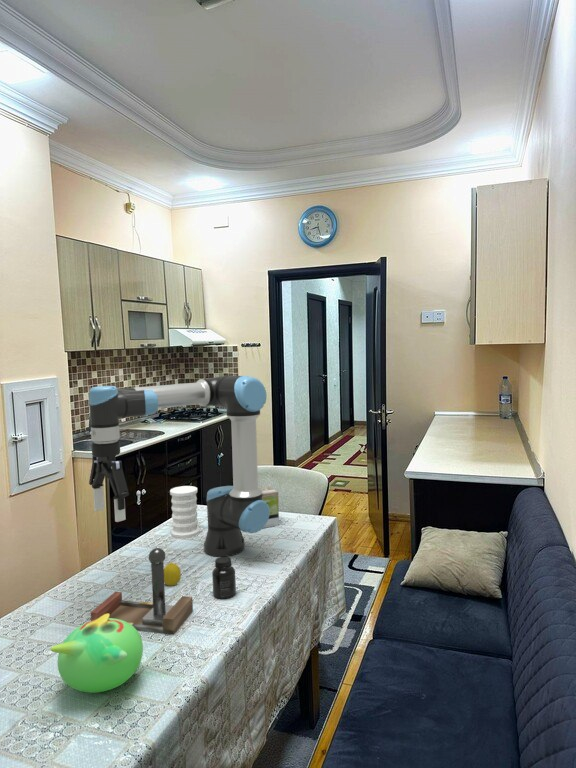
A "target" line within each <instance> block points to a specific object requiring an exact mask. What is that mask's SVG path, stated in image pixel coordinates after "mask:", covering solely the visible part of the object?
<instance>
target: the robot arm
mask: <svg viewBox="0 0 576 768" xmlns="http://www.w3.org/2000/svg"><path fill="white" fill-rule="evenodd" d="M266 402H267V390H266V387H265V385H264V383H263V382H261V380H260V379H258V378H256V377H254V376H249V375H221V376H217V377H210V378H203V379H202V378H201V379H198V380H197V381H196V382H189V383H188V382H186V383H175V384H165V385H164V384H161V385H150V386H137V387H125V388H124V387H123V388H117V386H115V385H102V386H101V385H100V386H92V387H91V388H90V389H89V394H88V405H89V406H88V407H89V416H90V417H89V418H90V419H89V421H90V431H89V435H90V437H91V442H92V443H91V455H92V462H91V463H92V465H91V470H90V474H89V475H90V476H89V481H88V485H90V486H91V487H92V493H93V510H94V512H99V511H103V510H105V498H104V497H105V496H104V487H105V486H104V480H105V477H106V478H107V479H108V481H109V483H110V486H111V488H112V491H113V494H114V496H113V503H114V504H113V505H114V522H116V523H119V522H122V521H125V520H127V519H126V499H125V498H126V497H129V495H130V492H129V489H128V484H127V481H126V478H125V473H124V470H123V469H124V468H123V462H122V460H117V459H116V456H118V455H120V454H121V442H120V441H119V439H120V438H121V437H120V432H121V431H120V419H125V418H133V417H146V416H150V415H155V414H156V413H157V412H158V409H165V408H175V407H182V406H193V405H199V406H200V407H218V408H225V409H226V417H227V418H228V419H229V420H230V422H231V447H232V449H231V451H232V452H231V453H232V458H231V459H232V479H233V480H232V482H233V485H225V486H218V487H213V488H210V489H209V490H208V491H207V493H206V513H207V516H206V517H207V532H206V535H205V541H204V543H203V551H204V553H205V554H206V555H208V556H213V557H219V558H220V557H231V556H235V555H237V554H240V553H241V552H243V551H244V550H245V548H246V544H245V543H246V542H245V538H244V536H243V533H249V534H256V533H257V532H260V531H261V530H262V529H264V528H263V527H264V526H265V524H266V523H267V521H268V519H269V515H270V509H269V506H268V504H267V503H266V502H265V501H263V493H262V490H261V489H260V488H261V487H259V477H258V474H259V473H258V443H257V442H258V440H257V418H259V416H261V409H263V408H264V406H265V404H266ZM242 532H243V533H242Z"/></svg>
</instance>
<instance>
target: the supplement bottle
mask: <svg viewBox="0 0 576 768" xmlns="http://www.w3.org/2000/svg"><path fill="white" fill-rule="evenodd" d="M214 567H215V568H213V570H212V572H211V573H212V574H211V575H212V576H211V577H212V596H213V597H214V599H216V600H220V601H222V600H230V599H232V598H234V597H235V596H237V583H236V570H235V568H234V566H233V565H232V558H231V557H230V556H221V557H220V556H219V557H217V558H216V559H215V560H214Z"/></svg>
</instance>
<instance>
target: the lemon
mask: <svg viewBox="0 0 576 768" xmlns="http://www.w3.org/2000/svg"><path fill="white" fill-rule="evenodd" d="M181 575H182V573H181V569H180V567H179V565H178V564H177V563H174V562H170V563H168V564H166V565H165V566H164V585H166V586H167V587H168V586H169V587H171V586H172V587H173V586H176V585H178V584H179V583H180V580H181V578H182V577H181Z"/></svg>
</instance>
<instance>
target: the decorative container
mask: <svg viewBox="0 0 576 768" xmlns="http://www.w3.org/2000/svg"><path fill="white" fill-rule="evenodd" d="M197 493H198V487H196V486H194V485H193V486H192V485H182V486H175V487H172V488H170V490H169V495H170V496H171V500H170V502H171V511H172V514H171V518H172V529H171V530H170V536H171V537H172V538H174V539H175V538H176V539H189V538H193V537H196V536H198V535H199V534H200V533H201V529H200V528H201V527H199V526H198V523H199V521H198V511H197V509H198V505H197V500H198V498H197Z"/></svg>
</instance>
